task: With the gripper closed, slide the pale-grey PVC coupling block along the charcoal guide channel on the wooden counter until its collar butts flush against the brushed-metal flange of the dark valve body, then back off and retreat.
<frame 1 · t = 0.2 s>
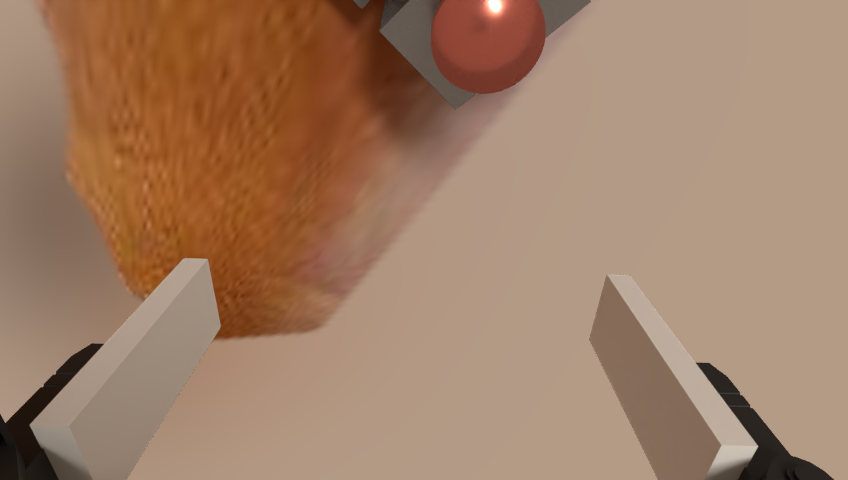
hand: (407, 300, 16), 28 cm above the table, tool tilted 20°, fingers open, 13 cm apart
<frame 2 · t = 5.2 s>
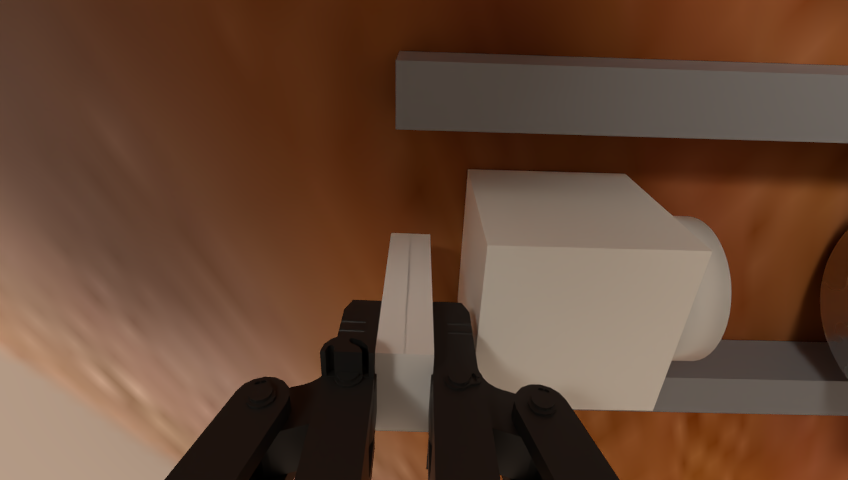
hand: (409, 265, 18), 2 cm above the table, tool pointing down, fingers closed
coupling: (535, 241, 19), on the table, touching gripper
guide rails: (642, 242, 19), on the table
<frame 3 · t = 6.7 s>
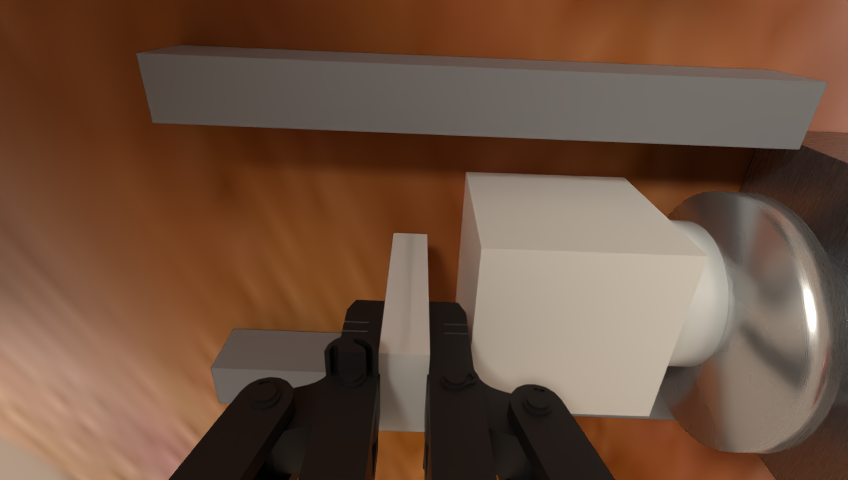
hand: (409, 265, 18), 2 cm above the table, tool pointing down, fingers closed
valve station: (801, 254, 19), on the table
coupling: (533, 244, 19), on the table, touching gripper, valve station
guide rails: (460, 241, 19), on the table
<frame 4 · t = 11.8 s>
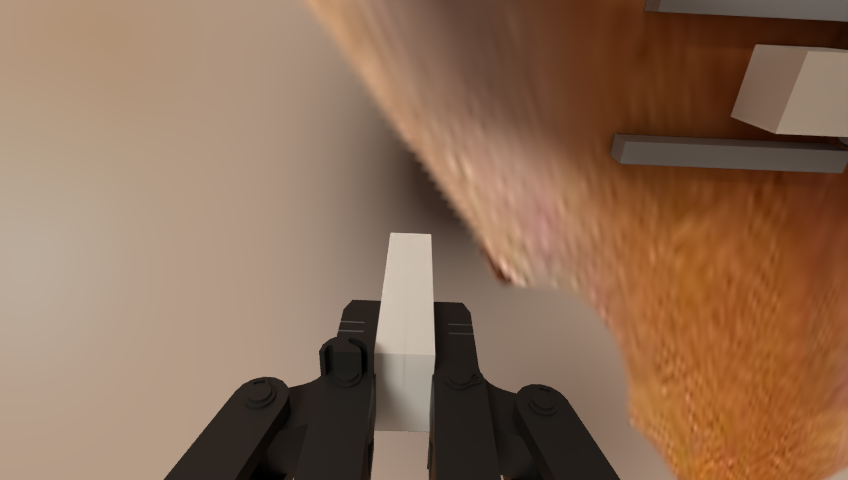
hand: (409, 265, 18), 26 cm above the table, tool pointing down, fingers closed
coupling: (776, 83, 40), on the table
guide rails: (743, 81, 40), on the table
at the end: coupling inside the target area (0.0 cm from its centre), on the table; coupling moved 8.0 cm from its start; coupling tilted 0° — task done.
